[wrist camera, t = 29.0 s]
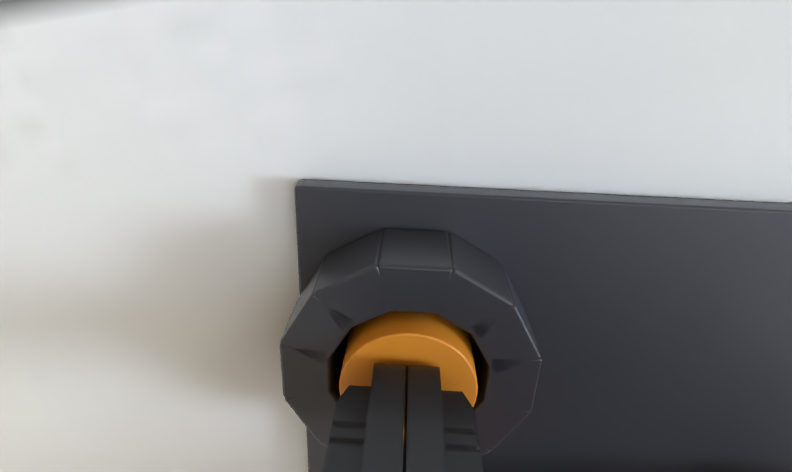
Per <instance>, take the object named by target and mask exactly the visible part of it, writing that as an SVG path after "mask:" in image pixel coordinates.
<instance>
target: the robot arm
mask: <svg viewBox="0 0 792 472" xmlns="http://www.w3.org/2000/svg"><path fill="white" fill-rule="evenodd" d="M404 395H405V365H398V364H381V363H374V367H373V375H372V384H371V386H355V385H349V386H348V387H347V389H346V390H345V391H344V393H343V394H342V395H341V396H340V398H339V399H338V400H337V402H336V406H335V411H334V416H333V422H332V426H331V431H330V436H329V442H328V445H327V450H326V455H325V460H324V465H323V470H322V472H402V461H403V472H483V465H482V458H481V452H480V445H479V438H478V433H477V424H476V418H475V411H474V408H473V407H472V405H471V404H470V402H469V401H468V399H467V398H466V396H465V395H464V393H463V392H462V391H444V390H441V377H440V367H436V366H418V365H408V372H407V388H406V404H405V419H404ZM403 428H404V442H403Z"/></svg>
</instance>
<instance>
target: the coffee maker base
mask: <svg viewBox="0 0 792 472" xmlns="http://www.w3.org/2000/svg"><path fill="white" fill-rule="evenodd" d="M295 205H296V226H297V246H298V266H299V286H300V296H299V298H298V300H297V302H296V305H295V307H294V310H293V312H292V314H291V317H290V319H289V322H288V324H287V326H286V329H285V331H284V334H283V336H282V338H281V344H280V355H281V369H282V383H283V394H284V396H285V399H286V401H287V402H288V404H289V405H290V406H291V408H292V409H293V410H294V411H295V413H296V414H297V415H298V416H299V418H300V419H301V420H302V422H303V423H304V424H305V425H306V427H307V447H308V467H309V472H322V470H323V465H324V460H325V455H326V450H327V445H328V442H329V436H330V431H331V426H332V422H333V416H334V411H335V406H336V402H337V400H338V399H339V398H340V390H339V380H340V374H341V370H342V365H343V360H344V355H345V351H346V346H347V341H348V336H349V332H350V329H351V328H352V327H354V326H356V325H359V324H361V323H364V322H366V321H368V320H371V319H373V318H375V317H378V316H380V315H382V314H385V313H387V312H389V311H397V312H415V313H433V314H437V315H438V316H440V317H442V318H444V319H445V320H447V321H449V322H451V323H453V324H454V325H456V326H458V327H460V328H461V329H463V330H465V331H467V332H468V333H469V334H470V340H471V346H472V352H473V358H474V364H475V370H476V376H477V384H478V393H477V398H476V402H475V404H474V407H473V408H474V411H475V418H476V424H477V433H478V438H479V445H480V452H481V458H482V465H483V472H792V204H784V203H764V202H744V201H724V200H704V199H684V198H663V197H643V196H623V195H603V194H583V193H563V192H543V191H523V190H503V189H483V188H463V187H443V186H423V185H403V184H383V183H363V182H343V181H323V180H303V179H301V180H299V182H298V183H297V184H296V186H295ZM403 442H404V441H403ZM402 472H403V461H402Z"/></svg>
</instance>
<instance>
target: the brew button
mask: <svg viewBox="0 0 792 472" xmlns="http://www.w3.org/2000/svg"><path fill="white" fill-rule="evenodd" d="M374 363H381V364H398V365H405V395H404V419H405V404H406V388H407V372H408V365H418V366H436V367H440V377H441V390H444V391H462V392H463V393H464V395H465V396H466V398H467V399H468V401H469V402H470V404H471V405H472V407H474V404H475V402H476V398H477V393H478V384H477V376H476V370H475V364H474V358H473V352H472V346H471V340H470V334H469V333H468V332H467V331H465V330H463V329H461V328H460V327H458V326H456V325H454V324H453V323H451V322H449V321H447V320H445V319H444V318H442V317H440V316H438V315H437V314H433V313H415V312H397V311H389V312H387V313H385V314H382V315H380V316H378V317H375V318H373V319H371V320H368V321H366V322H364V323H361V324H359V325H356V326H354V327H352V328H351V329H350V332H349V336H348V341H347V346H346V351H345V355H344V360H343V365H342V370H341V374H340V380H339V390H340V396H341V395H342V394H343V393H344V391H345V390H346V389H347V387H348V386H349V385H355V386H371V384H372V375H373V367H374ZM403 441H404V428H403Z"/></svg>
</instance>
